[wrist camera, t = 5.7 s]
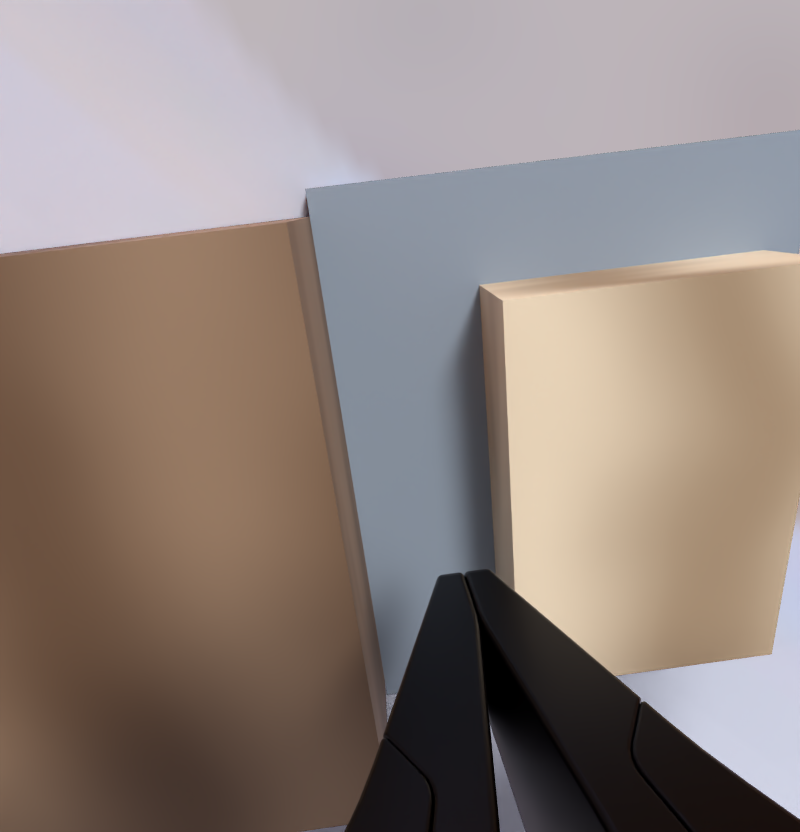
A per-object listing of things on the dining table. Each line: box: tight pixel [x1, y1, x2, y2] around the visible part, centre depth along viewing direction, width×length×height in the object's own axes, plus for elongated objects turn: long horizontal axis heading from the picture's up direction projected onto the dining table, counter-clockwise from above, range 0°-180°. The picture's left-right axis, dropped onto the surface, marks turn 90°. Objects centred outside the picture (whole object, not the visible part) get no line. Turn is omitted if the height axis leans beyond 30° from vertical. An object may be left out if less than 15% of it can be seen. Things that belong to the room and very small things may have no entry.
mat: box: [305, 130, 800, 695], centre depth 13 cm, size 10×13×1 cm
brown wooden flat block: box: [0, 217, 387, 832], centre depth 11 cm, size 10×12×4 cm
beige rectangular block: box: [479, 250, 800, 676], centre depth 12 cm, size 6×9×2 cm, turn 6°
